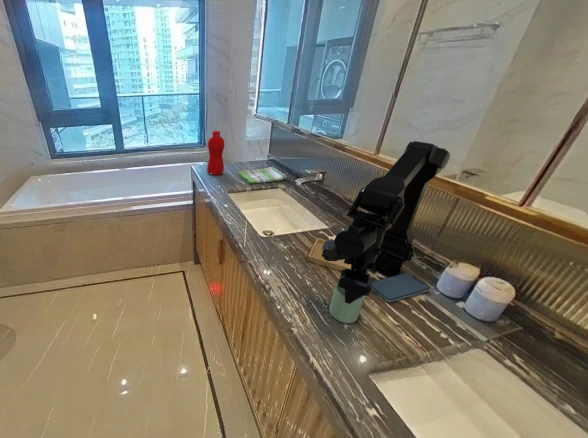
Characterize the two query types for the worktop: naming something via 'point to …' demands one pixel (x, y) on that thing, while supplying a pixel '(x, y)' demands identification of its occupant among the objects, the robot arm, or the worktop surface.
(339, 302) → the cup
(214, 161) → the water bottle
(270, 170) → the dish towel
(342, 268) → the tray
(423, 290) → the smartphone
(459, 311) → the worktop surface
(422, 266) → the worktop surface
